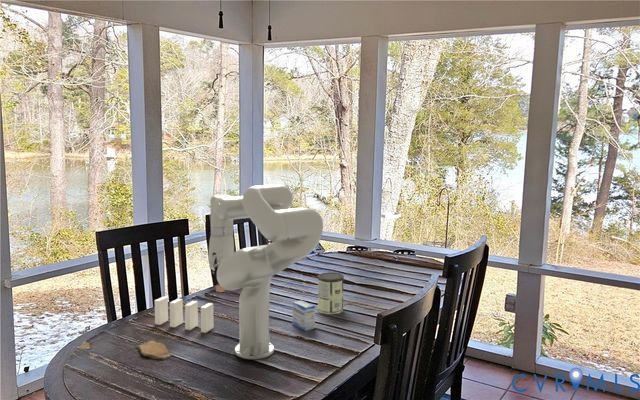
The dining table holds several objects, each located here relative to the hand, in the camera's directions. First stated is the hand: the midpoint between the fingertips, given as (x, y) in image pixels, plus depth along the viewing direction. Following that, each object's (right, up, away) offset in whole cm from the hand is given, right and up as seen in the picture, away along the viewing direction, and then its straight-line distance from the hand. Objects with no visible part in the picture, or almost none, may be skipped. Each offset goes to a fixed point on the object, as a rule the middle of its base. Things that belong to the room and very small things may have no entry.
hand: (222, 281), depth 178 cm
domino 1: (-18, -17, +9) cm, 27 cm away
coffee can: (+38, -16, +27) cm, 49 cm away
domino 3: (-6, -18, +5) cm, 19 cm away
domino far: (-25, -17, +11) cm, 32 cm away
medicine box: (+28, -18, +9) cm, 34 cm away
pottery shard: (-19, -21, -14) cm, 32 cm away
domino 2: (-12, -18, +7) cm, 22 cm away
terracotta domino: (0, -3, 0) cm, 3 cm away
